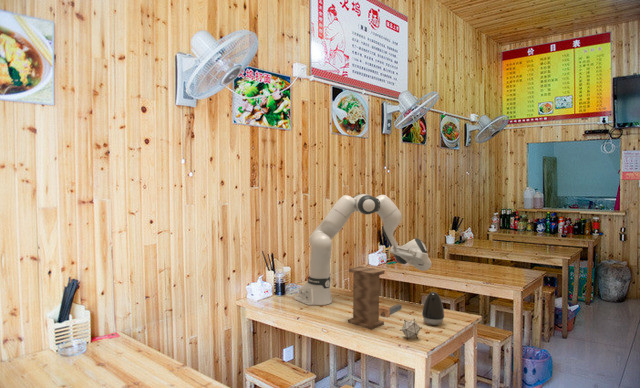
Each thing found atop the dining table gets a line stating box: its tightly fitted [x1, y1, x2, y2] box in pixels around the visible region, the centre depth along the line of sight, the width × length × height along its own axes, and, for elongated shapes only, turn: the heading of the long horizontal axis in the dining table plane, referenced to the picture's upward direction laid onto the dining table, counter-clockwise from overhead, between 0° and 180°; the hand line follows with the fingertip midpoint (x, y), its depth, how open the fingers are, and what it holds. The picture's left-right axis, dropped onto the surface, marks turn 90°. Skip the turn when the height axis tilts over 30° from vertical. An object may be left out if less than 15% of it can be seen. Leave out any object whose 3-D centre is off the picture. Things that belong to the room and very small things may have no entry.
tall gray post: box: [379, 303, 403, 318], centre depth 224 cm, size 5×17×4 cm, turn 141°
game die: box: [399, 318, 423, 341], centre depth 189 cm, size 9×8×10 cm
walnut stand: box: [347, 265, 385, 331], centre depth 206 cm, size 14×10×26 cm
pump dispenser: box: [421, 291, 445, 326], centre depth 208 cm, size 10×10×15 cm
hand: (400, 249), depth 227 cm, fingers open, 8 cm apart
